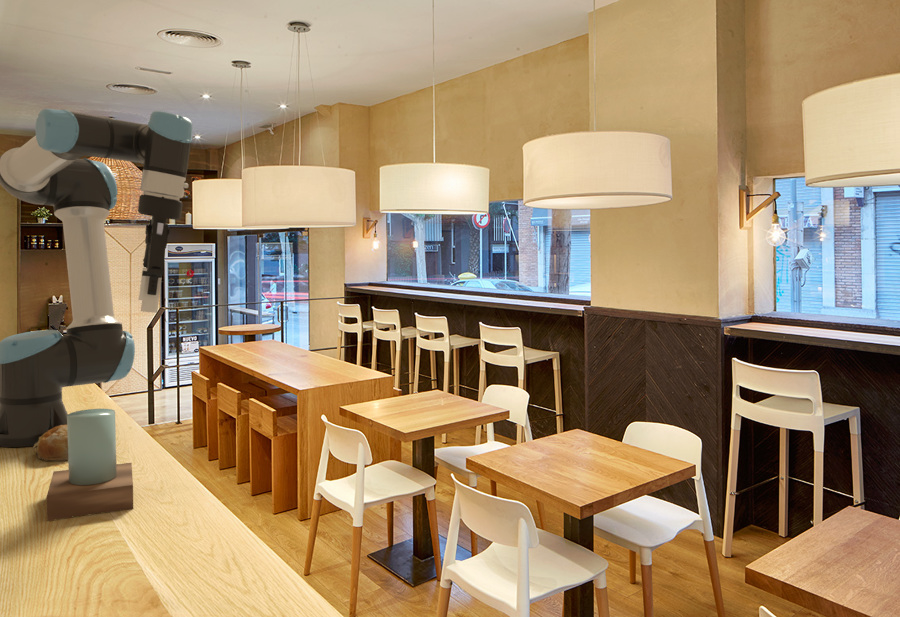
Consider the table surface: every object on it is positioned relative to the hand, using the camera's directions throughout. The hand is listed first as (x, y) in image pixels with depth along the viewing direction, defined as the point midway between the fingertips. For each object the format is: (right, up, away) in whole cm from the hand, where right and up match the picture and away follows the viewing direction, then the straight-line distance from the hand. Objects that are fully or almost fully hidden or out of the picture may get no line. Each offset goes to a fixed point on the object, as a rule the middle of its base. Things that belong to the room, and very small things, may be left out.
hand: (147, 306), depth 122 cm
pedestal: (-2, -33, -16) cm, 37 cm away
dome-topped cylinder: (-2, -29, -16) cm, 33 cm away
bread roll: (-21, -31, +8) cm, 38 cm away
